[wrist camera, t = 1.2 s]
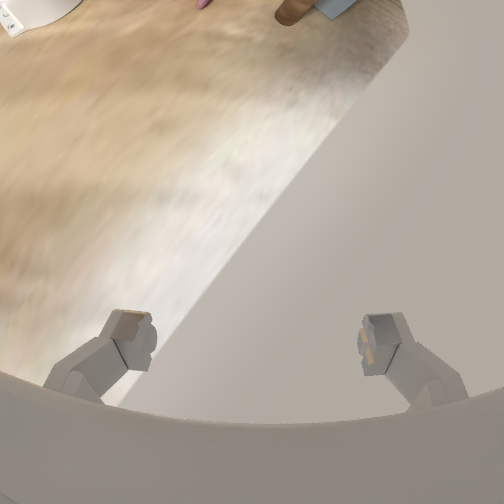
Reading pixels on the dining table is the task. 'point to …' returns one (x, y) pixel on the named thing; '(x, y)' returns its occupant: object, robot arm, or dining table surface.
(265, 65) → the dining table surface
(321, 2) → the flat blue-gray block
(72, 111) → the dining table surface
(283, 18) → the walnut dowel
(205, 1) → the video game controller
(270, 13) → the dining table surface
